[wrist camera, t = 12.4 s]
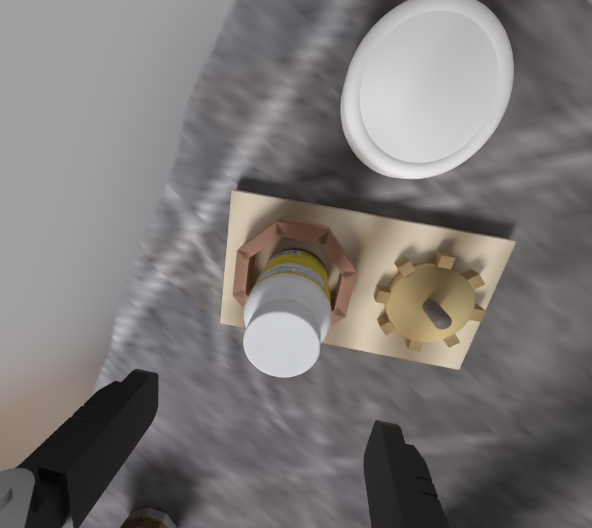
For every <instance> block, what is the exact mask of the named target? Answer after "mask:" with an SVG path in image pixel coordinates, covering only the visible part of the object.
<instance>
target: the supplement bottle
mask: <svg viewBox="0 0 592 528" xmlns="http://www.w3.org/2000/svg"><path fill="white" fill-rule="evenodd" d="M331 314H332V312H331V303H330V291H329V282H328V275H327V270H326V267H325V265H324V264H323V262H322V261H321V259H320V258H319V257H318V256H317V255H315V254H314V253H312V252H311V251H309V250H306V249H303V248H297V247H293V248H286V249H283V250H281V251H279V252H277V253H276V254H274V255H273V256H272V257H271V258H270V259H269V261H268V262H267V264H266V266H265V267H264V269H263V271H262V273H261V275H260V276H259V278H258V280H257V282H256V284H255V285H254V287H253V289H252V291H251V292H250V294H249V296H248V298H247V301H246V303H245V307H244V322H245V326H246V330H245V333H244V340H243V343H244V349H245V352H246V355H247V357H248V359H249V360H250V361H251V363H252V364H253V365H254V366H255V367H257V368H258V369H259V370H261V371H262V372H264V373H266V374H269V375H272V376H276V377H292V376H296V375H299V374H302V373H304V372H305V371H307V370H308V369H309V368H311V367H312V366H313V364H314V363H315V362H316V360H317V358H318V356H319V353H320V345H321V343H322V341H323V340H324V339H325V337H326V336H327V334H328V332H329V329H330V325H331Z"/></svg>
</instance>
